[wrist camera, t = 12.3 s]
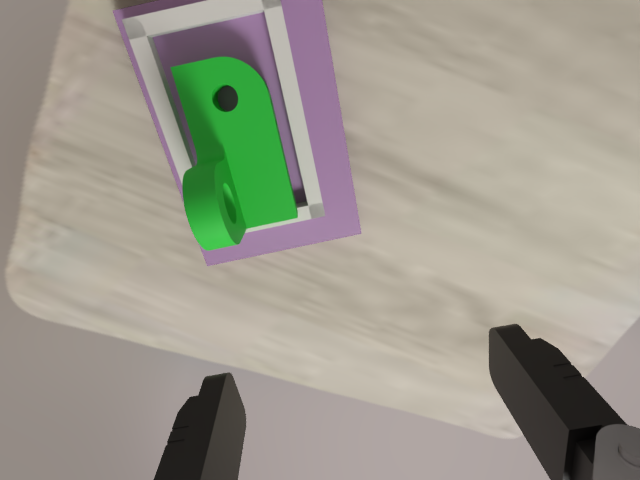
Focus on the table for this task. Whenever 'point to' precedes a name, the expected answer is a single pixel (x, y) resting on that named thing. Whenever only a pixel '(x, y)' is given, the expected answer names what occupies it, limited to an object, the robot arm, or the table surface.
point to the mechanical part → (232, 154)
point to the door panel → (283, 83)
